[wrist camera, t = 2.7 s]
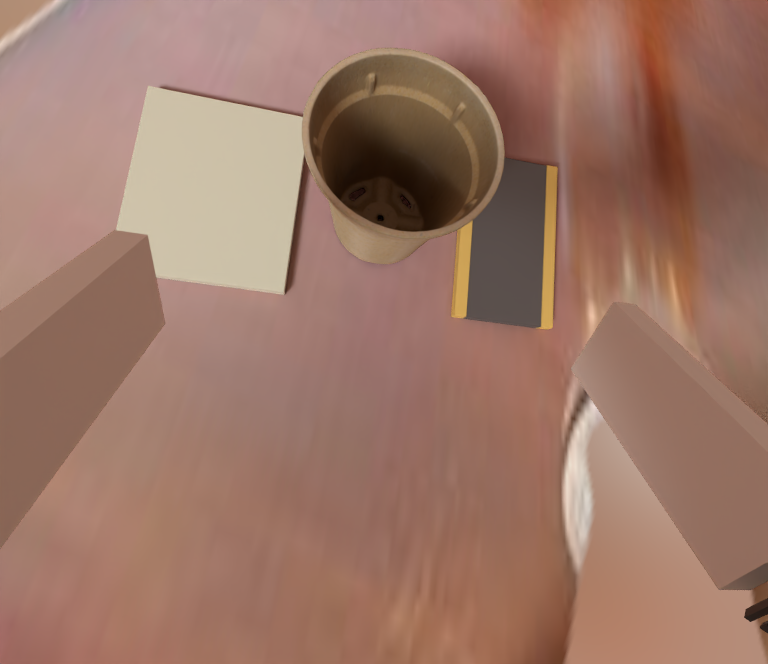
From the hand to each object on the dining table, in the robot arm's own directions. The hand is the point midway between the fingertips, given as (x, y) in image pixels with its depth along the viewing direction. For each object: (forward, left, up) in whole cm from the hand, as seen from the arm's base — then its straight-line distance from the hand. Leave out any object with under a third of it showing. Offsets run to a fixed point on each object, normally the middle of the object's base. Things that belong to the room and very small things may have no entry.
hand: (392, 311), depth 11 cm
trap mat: (-10, -9, -13) cm, 19 cm away
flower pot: (-1, -9, -13) cm, 16 cm away
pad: (+10, -9, -13) cm, 19 cm away
